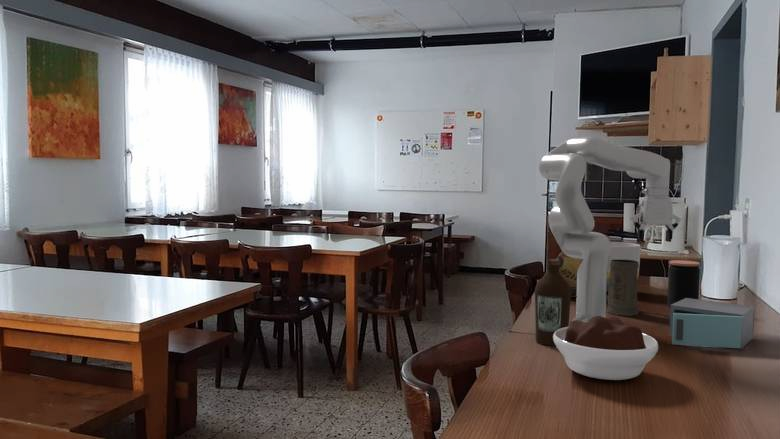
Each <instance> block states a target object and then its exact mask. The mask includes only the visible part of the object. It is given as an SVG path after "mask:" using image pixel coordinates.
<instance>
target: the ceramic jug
mask: <svg viewBox="0 0 780 439" xmlns="http://www.w3.org/2000/svg"><path fill="white" fill-rule="evenodd" d="M555 259H556V260H559V273H560V274H561V276H562V277H563V278H564V279H565V280H566V281H567V282H568V284H569V286H570V289H571V297H576V296H577V272H578V269H579V266H580V264H581V263H582V261H583V259H579V258H573V257H569V256H567V255H566V254H564V252H563V251H562V250H561V252H560V253H559V254H558V256H557V257H556V258H555ZM576 298H577V297H576Z"/></svg>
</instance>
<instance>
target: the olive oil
mask: <svg viewBox="0 0 780 439" xmlns="http://www.w3.org/2000/svg"><path fill="white" fill-rule="evenodd" d="M547 262H548V263H547V272H546V273H545V274H544V275H543V276H542V277H541V278H540V279H539V280H538V281H537V282H536V285H535V288H534V307H535V308H534V310H535V311H534V315H535V317H534V318H535V341H537V343H538V344H540V343H541V344H540V345H544V344H546V345H545V346H550V345H555V343H554V341H553V334H554V332H555V331H557V330H558V329H561V328H564V327H569V324H570V315H571V302H572V301H571V300H572V298H571V289H570V286H569V284H568V282H567V281H566V280H565V279H564V278H563V277H562V276H561V274H560V273H559V260H556V258H555V259H554V258H553V259H552V258H551V259H550V258H549V259H547Z"/></svg>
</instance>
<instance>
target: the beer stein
mask: <svg viewBox="0 0 780 439" xmlns="http://www.w3.org/2000/svg"><path fill="white" fill-rule="evenodd" d="M638 268H639V269H640V266H639V265H638V261H634V260H621V259H618V260H611V261H610V276H609V289H608V292H607V293H608V294H607V304H608V305H607V308H606V313H609V314H610V315H614V316H620V315H621V316H623V317H633V316H638V315H639V309H638V307H639V303H638V280H637V273H638Z"/></svg>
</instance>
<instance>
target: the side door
mask: <svg viewBox="0 0 780 439" xmlns="http://www.w3.org/2000/svg"><path fill="white" fill-rule="evenodd" d="M744 328H745V317H743V316H722V315H702V314H682V313H673V337H672V338H671V339H672V340H671V344H672V345H676V346H678V345H679V346H696V347H708V348H709V347H712V348H713V347H715V348H727V349H729V348H730V349H741V350H742V349H743V350H744V348H745V345H744Z"/></svg>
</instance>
